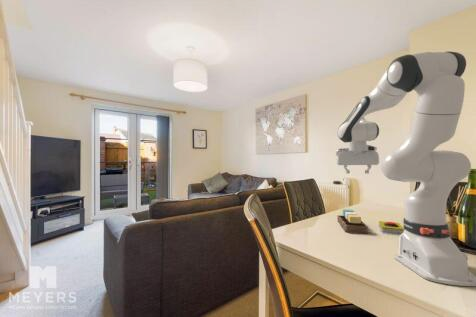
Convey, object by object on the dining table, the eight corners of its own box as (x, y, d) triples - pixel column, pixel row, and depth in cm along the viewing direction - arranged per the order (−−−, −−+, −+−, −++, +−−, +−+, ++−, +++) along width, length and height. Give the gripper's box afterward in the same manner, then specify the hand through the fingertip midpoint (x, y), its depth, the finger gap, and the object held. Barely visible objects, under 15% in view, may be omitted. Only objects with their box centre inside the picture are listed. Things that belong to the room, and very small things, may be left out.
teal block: (354, 218, 120) (354, 211, 120) (344, 218, 121) (344, 211, 121) (352, 216, 124) (352, 209, 124) (342, 216, 125) (342, 209, 125)
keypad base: (368, 233, 106) (368, 226, 106) (345, 232, 108) (345, 225, 108) (356, 222, 125) (356, 216, 125) (337, 221, 127) (337, 215, 127)
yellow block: (361, 225, 108) (360, 217, 108) (350, 224, 109) (349, 216, 109) (358, 222, 112) (358, 215, 112) (347, 222, 113) (347, 214, 113)
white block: (357, 221, 114) (357, 214, 114) (347, 221, 115) (347, 213, 115) (355, 219, 118) (355, 212, 118) (345, 219, 119) (345, 211, 119)
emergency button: (381, 225, 106) (377, 217, 119) (382, 234, 106) (378, 225, 119) (405, 227, 102) (398, 219, 115) (405, 237, 102) (398, 227, 115)
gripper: (337, 148, 118) (337, 174, 118) (380, 147, 112) (380, 174, 113) (335, 148, 124) (335, 172, 124) (375, 147, 119) (375, 172, 119)
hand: (357, 173), depth 118 cm, fingers open, 8 cm apart
